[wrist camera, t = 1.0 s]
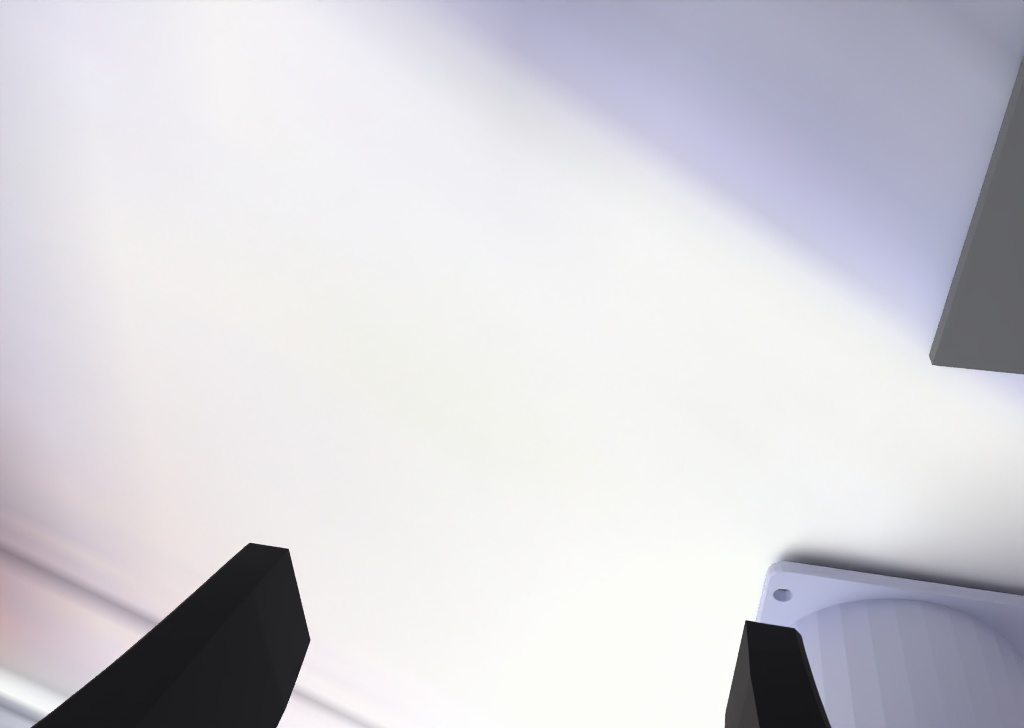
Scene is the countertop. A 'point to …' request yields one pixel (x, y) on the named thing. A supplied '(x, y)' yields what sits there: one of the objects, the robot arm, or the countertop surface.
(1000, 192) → the mat
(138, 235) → the countertop surface
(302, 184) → the countertop surface
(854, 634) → the robot arm
